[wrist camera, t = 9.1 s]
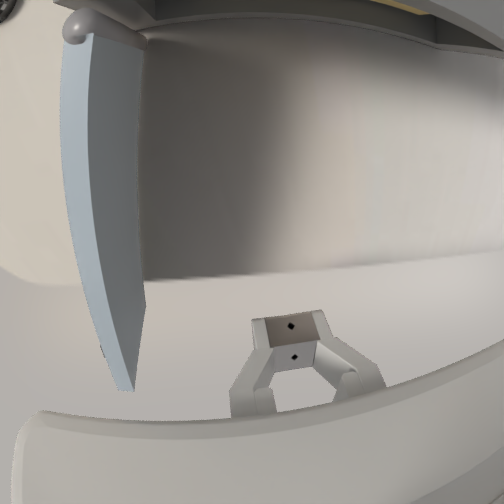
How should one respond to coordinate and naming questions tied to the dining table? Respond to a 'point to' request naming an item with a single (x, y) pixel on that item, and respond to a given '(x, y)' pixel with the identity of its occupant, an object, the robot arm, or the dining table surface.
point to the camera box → (334, 17)
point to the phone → (6, 8)
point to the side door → (105, 178)
